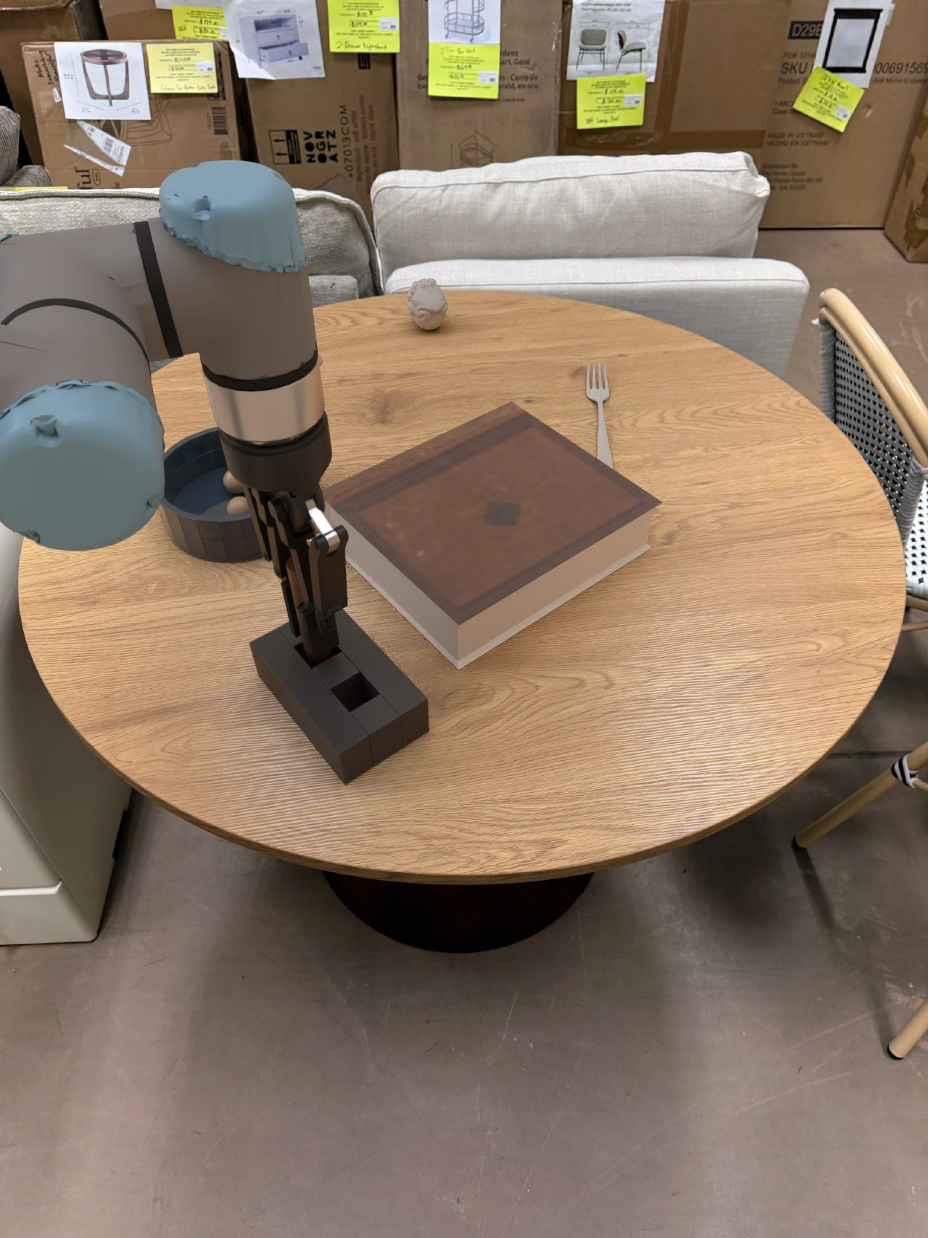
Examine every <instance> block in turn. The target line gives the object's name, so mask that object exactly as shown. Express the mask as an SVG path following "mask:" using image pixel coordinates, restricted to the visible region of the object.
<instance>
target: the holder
mask: <svg viewBox="0 0 928 1238" xmlns="http://www.w3.org/2000/svg"><path fill="white" fill-rule="evenodd" d="M335 619H336V625H337V631H338V637H339V643H340V644H339V645H337V646H335V647H333V648H332V649H331V652H332V657H331V658H329V659H328V660H326V661H324V662H322V663H321V664H319V665H317V666H315V667H313V668H311V667H310V666H309V665H308V664H307V661H306V656H305V651H304V647H303V642H302V637H301V635H300V636H299V637H297V638H296V637H295V636H294V635H293V634H292V632H291V627H290V623H289V621H287V622H285V623H284V624H282V625H279V626H278V627H276V628H274V629H272V630H270V631H268V632H267V633H265V634H263V635H261V636H259V637H257V638H255V639H253V640H251V641H250V642H249V648H250V652H251V655H252V659H253V661H254V665H255V669H256V672H257V676H258V677H259V679H260V680H262V682H263V684H264V685H265V686H266V688H268V690H269V691H270V692H271V693H272V695H273V696H274V698H275V699H276V700H277V701H278V703H279V704H280V705H281V707H282V708H283V709H284V710H285V711H286V712H287V714H288V715H289V716H290V717H291V719H292V720H293V721H294V723H295V724H296V725H297V727H299V729H300V730H301V732H302V733H303V734H304V735H305V736H306V738H307V739H308V740H309V741H310V743H311V744H312V745H313V746H314V748H315V749H316V750H317V752H318V753H319V754H320V756H321V757H322V758H323V759H324V760H325V762H326V763H327V764H328V765H329V767H330V768H331V769H332V771H333V772H334V773H335V774H336V775H337V777H338V778H339V779H340V781H341V782H342V783H343V784H344V785H348V784H349V783H350V782H353V781H354V780H355V779H357V778H359V777H360V776H361V775H363V774H364V773H366V772H368V771H369V770H370V769H373V767H376V766H377V765H379V764H380V763H382V762H383V761H385V760H386V759H389V758H390V757H391V756H392V755H394V754H396V753H397V752H399V751H400V750H402V749H403V748H405V747H407V746H408V745H409V744H412V743H413V742H414V741H416V740H417V739H419V738H420V737H422V736H423V735H425V734H426V733H428V732H429V731H430V718H429V716H430V715H429V712H430V711H429V698H428V697H427V696H426V695H425V694H424V693H423V692H422V690H420V688H419V687H418V686H417V685H416V684H415V683H414V682H413V681H412V680H411V679H410V677H409V676H407V674H405V673H404V671H403V670H402V669H401V668H400V667H399V666H398V665H397V664H396V663H395V662H394V661H393V660H392V659H391V658H390V657H389V655H388V654H387V653H385V651H384V650H382V648H381V647H380V646H379V645H378V644H377V643H376V641H374V640H373V639H372V638H371V637H370V636H369V634H367V633H366V631H365V630H364V629H363V628H362V626H360V625H359V624H358V623H357V622H356V621H355V619H354V618H353V617H352V616H351V615H350V614H348V612H347V611H346V610H345V608H343V609H341V610H340V611H338V612H336V613H335Z"/></svg>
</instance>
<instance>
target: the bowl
mask: <svg viewBox="0 0 928 1238" xmlns="http://www.w3.org/2000/svg"><path fill="white" fill-rule="evenodd" d="M163 461H164V476H165V487H164V497H163V499H162V501H161V502H160V504H159V506H158V508H157V510H158V513H159V515H160V518H161V521H162V524H163V527H164V530H165V532H166V534H167V536H168V537H169V540H170V541H171V542H172V543H173V544H174V545H175V546H176V547H177V548H179V550H181V551H183V552H184V553H186V554H188V555H190V556H192V557H195V558H198V559H201V560H205V561H209V562H215V563H216V562H217V563H242V562H251V561H254V560H258V559H262V558H263V555H262V551H261V547H260V544H259V541H258V537H257V534H256V531H255V527H254V524H253V521H252V517H251V514H250V513H246V514H242V515H237V516H228V514H227V505H228V503H229V501H230V500H231V499H233V498H235V497H238V496H242V497H245V494H244V492H243V493H241V494H233V493H231V492H229V491H228V490H227V489H226V488H225V486H224V483H223V478H224V475H225V473H226V472H227V471H228V470H229V469H228V467H227V463H226V459H225V455H224V451H223V447H222V443H221V440H220V436H219V427H218V426H214V427H210V428H206V429H203V430H200V431H198V432H196V433H195V432H194V433H193V434H190V435H188V436H185V437H184V438H183V439H181V440H179V441H177V442H176V443H174V444H173V445H171V446H170V447H169V448H168V449H166V450H165V451H164V456H163Z"/></svg>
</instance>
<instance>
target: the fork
mask: <svg viewBox="0 0 928 1238" xmlns="http://www.w3.org/2000/svg"><path fill="white" fill-rule="evenodd" d="M601 365H602V364H601V361H599V362H598V369H597V371H598V372H597V375H598V388H597V383H596V362H595V361H593V365H592V382H591V381H590V378H591V362H590V361H587V368H586V369H587V370H586V383H585V395H586V397H587V398H588V399H590V400H591V401H594V402H596V404H597V409H598V410H597V411H598V412H597V413H598V416H597V417H598V423H597V426H598V427H597V444H596V445H597V446H596V447H597V448H596V458H597V459H599V460H600V461H602V462H603V463H605V464H606V465H608V466H609V467H611V468H612V469H614V465H613V459H612V453H611V448H610V443H609V436H608V432H607V427H606V421H605V413H604V403H603V402H604V401H607V400H608V399H609V398H610V388H609V381H608V371H607V365H606V362H605V361H604V362H603V377H604V378H603V379H604V387H603V381H602V366H601ZM590 382H591V383H592V385H591V387H590Z"/></svg>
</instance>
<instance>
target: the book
mask: <svg viewBox="0 0 928 1238" xmlns="http://www.w3.org/2000/svg"><path fill="white" fill-rule="evenodd" d="M321 490H322V494H323V498H324V502H325V511H324V516H325V517H326V519H327V520H328V522H329V523H330V525H331V526H332V527H333V526H336V527H337V526H339V525H343V526H344V527H345V528H346V530H347V532H348V535H349V540H348V542H347V545H346V547H345V557H346V563H347V564H349V565H350V566H351V567H352V568H353V569H354V570H355V571H356V572H357V573H358V574H359V575H360V576H362V577H363V578H364V580H366V581H367V582H368V584H370V585H371V587H373V588H374V589H375V590H376V591H377V592H378V593H379V594H380V596H382V597H383V598H384V600H386V601H387V602H388V603H389V604H391V606H392V607H393V608H394V609H395V610H396V611H397V612H398V613H400V614H401V615H402V617H404V618H405V619H406V620H407V621H408V622H409V623H410V624H411V626H413V627H414V628H415V629H416V630H417V631H418V632H419V633H420V634H421V635H422V636H423V637H424V638H425V639H426V640H427V641H428V642H429V643H430V644H431V645H432V646H434V648H436V649H437V651H439V653H441V654H442V656H444V658H446V660H447V661H449V663H451V664H452V665H453V666H454V667H455V668H456V669H457V670H458V671H459V670H461V669H463V668H464V667H466V666H467V665H469V664H471V663H472V662H473V661H475V660H477V659H478V658H480V657H482V656H483V655H485V654H486V653H488V652H490V651H491V650H493V649H494V648H496V647H497V646H498V645H500V644H502V643H504V642H505V641H507V640H508V639H510V638H511V637H513V636H515V635H516V634H518V633H519V632H521V631H523V630H524V629H526V628H527V627H529V626H531V625H532V624H534V623H535V622H537V621H538V620H540V619H541V618H543V617H545V616H547V615H548V614H550V613H551V612H552V611H555V610H556V609H558V608H559V607H560V606H562V605H563V604H565V603H567V602H568V601H570V600H571V599H573V598H575V597H576V596H578V595H579V594H582V593H583V592H584V591H586V590H587V589H589V588H590V587H592V586H594V585H595V584H597V583H598V582H601V580H603V579H605V578H606V577H608V576H609V575H611V574H613V573H614V572H616V571H618V570H619V569H621V568H622V567H624V566H625V565H627V564H629V563H630V562H631V561H633V560H635V559H636V558H638V557H639V556H641V555H642V554H645V553H646V552H648V551H649V550H650V549H652V546H651V545H649V544H648V539H649V535H650V530H651V526H652V522H653V518H654V514H655V511H656V507H658V506H660V505H662V504H663V503H664V501H661V500H660V499H659V498H657V497H656V496H654V495H652V494H651V493H649V491H647V490H645V489H643V488H642V487H640V486H639V485H638V484H636V483H635V482H633V481H632V480H630V479H629V478H628V477H625V476H624V475H623V474H621V473H619V472H618V471H617V470H615V468H613V469H612V468H611V467H609V466H608V465H606V464H605V463H603V462H602V461H600V460H599V459H597V456H594V455H593V454H591V453H590V452H588V451H586V450H585V449H584V448H582V447H580V446H579V445H578V444H576V443H575V442H573V441H572V440H571V439H568V438H567V437H566V436H564V435H563V434H561V433H559V432H558V431H556V430H555V429H553V428H552V427H550V426H549V425H547V424H546V422H543V421H542V420H540V419H539V418H537V417H536V416H534V415H533V414H531V413H530V412H528V411H527V410H525V409H524V408H522V407H521V406H519V405H517V404H516V403H514V402H513V401H509V402H507V403H505V404H503V405H501V406H498V407H496V408H494V409H493V410H490V411H488V412H486V413H483V414H481V415H479V416H477V417H474V418H473V419H470V420H469V421H466V422H464V423H462V424H460V425H458V426H455V427H454V428H451V429H450V430H447V431H445V432H443V433H440V434H438V435H436V436H434V437H432V438H430V439H428V440H426V441H423V442H421V443H419V444H417V445H415V446H413V447H411V448H409V449H406V450H404V451H402V452H400V453H398V454H396V455H394V456H392V457H389V458H387V459H385V460H383V461H381V462H378V463H377V464H374V465H372V466H370V467H367V468H365V469H363V470H362V471H359V472H357V473H355V474H353V475H350V476H348V477H347V478H345V479H342V480H340V481H338V482H336V483H334V484H331V485H329V486H327V487H325V488H323V489H321Z"/></svg>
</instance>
